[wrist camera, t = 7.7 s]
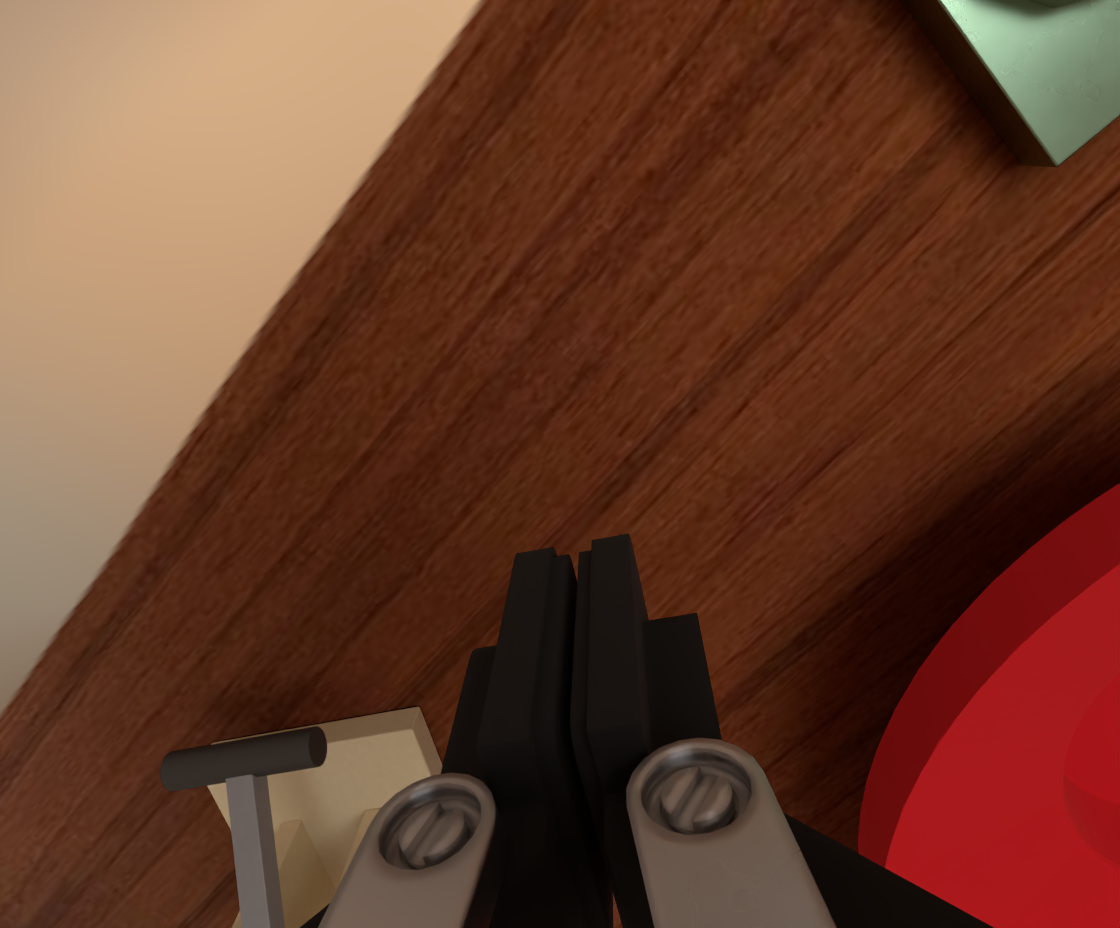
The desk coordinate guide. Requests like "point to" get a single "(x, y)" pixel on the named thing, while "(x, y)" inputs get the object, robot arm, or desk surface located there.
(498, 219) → the desk surface
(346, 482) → the desk surface
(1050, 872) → the bowl
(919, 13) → the block
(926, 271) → the desk surface
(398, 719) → the lever stand
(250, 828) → the switch lever
